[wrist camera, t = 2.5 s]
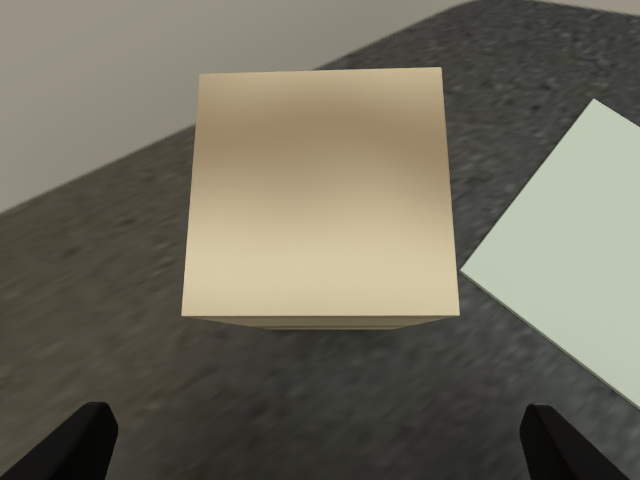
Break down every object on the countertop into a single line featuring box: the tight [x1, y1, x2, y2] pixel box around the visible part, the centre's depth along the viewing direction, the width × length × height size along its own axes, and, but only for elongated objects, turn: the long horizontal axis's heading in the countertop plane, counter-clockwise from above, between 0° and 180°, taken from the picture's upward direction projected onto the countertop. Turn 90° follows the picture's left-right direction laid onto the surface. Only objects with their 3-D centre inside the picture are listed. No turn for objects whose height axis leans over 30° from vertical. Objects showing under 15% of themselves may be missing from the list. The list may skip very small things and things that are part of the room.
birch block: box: [182, 67, 460, 330], centre depth 16 cm, size 6×6×12 cm
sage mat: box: [458, 99, 640, 410], centre depth 21 cm, size 12×12×1 cm
